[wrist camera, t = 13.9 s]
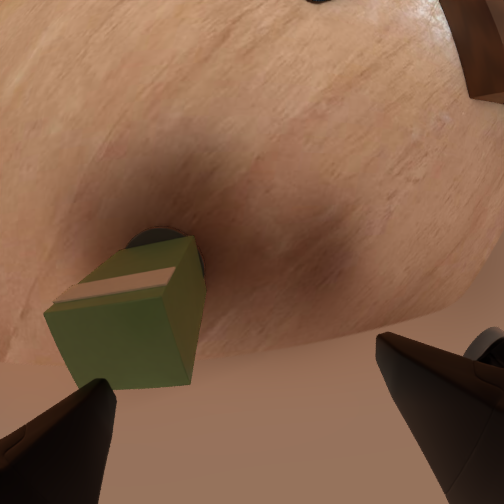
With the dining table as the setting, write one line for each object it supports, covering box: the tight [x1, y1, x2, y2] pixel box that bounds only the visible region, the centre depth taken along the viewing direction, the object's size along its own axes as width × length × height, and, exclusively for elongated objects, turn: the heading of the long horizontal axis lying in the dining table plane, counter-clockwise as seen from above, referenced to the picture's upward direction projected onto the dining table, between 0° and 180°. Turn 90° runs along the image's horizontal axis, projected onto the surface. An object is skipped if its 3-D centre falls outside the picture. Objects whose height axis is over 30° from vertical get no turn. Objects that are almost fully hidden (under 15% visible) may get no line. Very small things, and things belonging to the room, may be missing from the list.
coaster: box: [125, 226, 205, 278], centre depth 20 cm, size 6×6×1 cm
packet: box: [43, 236, 207, 390], centre depth 15 cm, size 10×6×10 cm
